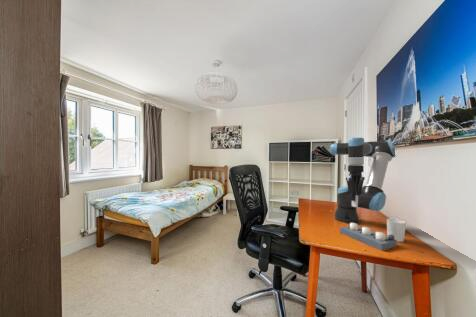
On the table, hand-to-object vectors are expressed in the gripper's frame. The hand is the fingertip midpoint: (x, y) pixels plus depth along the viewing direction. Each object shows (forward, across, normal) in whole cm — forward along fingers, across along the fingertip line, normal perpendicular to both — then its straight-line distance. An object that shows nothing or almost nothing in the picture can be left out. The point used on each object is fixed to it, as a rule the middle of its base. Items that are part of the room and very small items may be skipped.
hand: (354, 206), depth 108 cm
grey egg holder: (+16, 0, +7) cm, 17 cm away
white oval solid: (+15, 0, +7) cm, 17 cm away
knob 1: (+15, 0, 0) cm, 15 cm away
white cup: (+16, -15, +13) cm, 25 cm away
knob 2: (+15, 0, +14) cm, 21 cm away
